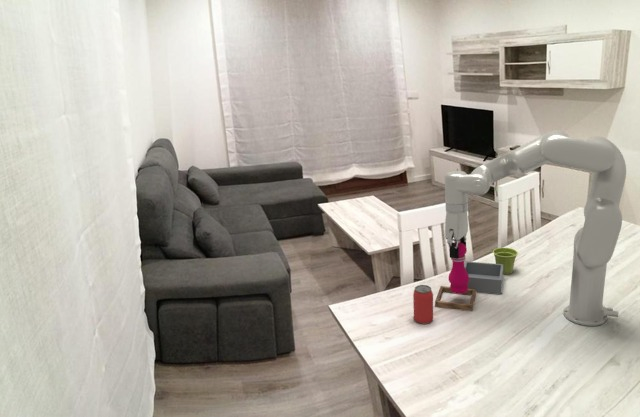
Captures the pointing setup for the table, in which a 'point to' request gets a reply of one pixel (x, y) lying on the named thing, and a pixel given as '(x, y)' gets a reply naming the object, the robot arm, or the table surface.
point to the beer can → (423, 304)
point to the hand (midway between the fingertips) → (458, 254)
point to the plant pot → (505, 258)
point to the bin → (484, 277)
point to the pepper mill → (459, 272)
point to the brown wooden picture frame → (455, 305)
